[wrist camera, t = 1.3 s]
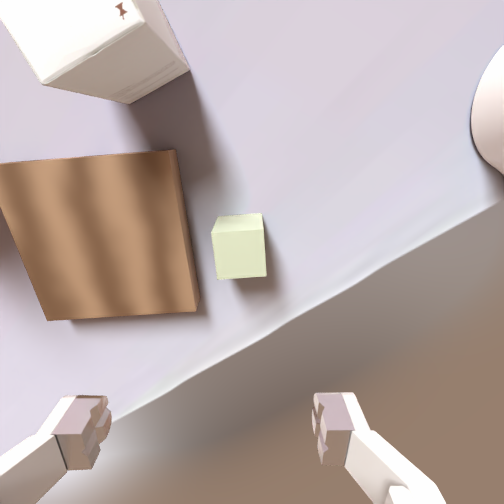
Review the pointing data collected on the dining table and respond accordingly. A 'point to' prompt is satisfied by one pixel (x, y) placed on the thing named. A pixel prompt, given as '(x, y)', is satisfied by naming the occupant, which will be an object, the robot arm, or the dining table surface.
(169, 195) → the walnut stand
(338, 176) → the dining table surface
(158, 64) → the supplement box
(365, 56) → the dining table surface
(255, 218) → the sage block
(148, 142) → the dining table surface
